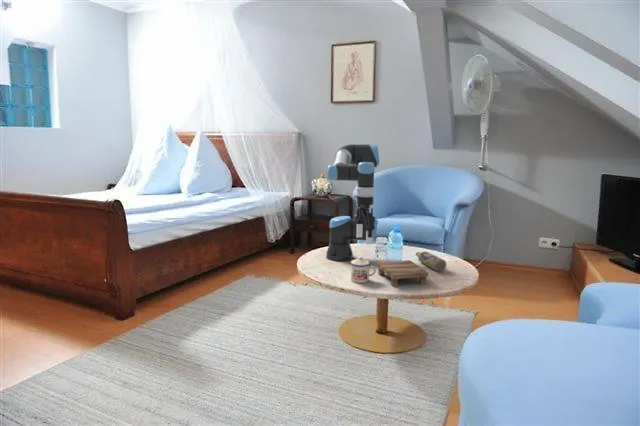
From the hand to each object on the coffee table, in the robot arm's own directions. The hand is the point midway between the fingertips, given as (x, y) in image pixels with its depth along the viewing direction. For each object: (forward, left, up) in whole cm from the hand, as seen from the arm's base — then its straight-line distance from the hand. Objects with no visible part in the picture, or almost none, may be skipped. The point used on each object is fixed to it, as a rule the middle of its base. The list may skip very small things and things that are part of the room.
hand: (364, 240), depth 203 cm
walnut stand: (+2, +19, -20) cm, 27 cm away
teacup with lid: (0, 0, -20) cm, 20 cm away
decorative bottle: (-16, +44, -20) cm, 51 cm away
